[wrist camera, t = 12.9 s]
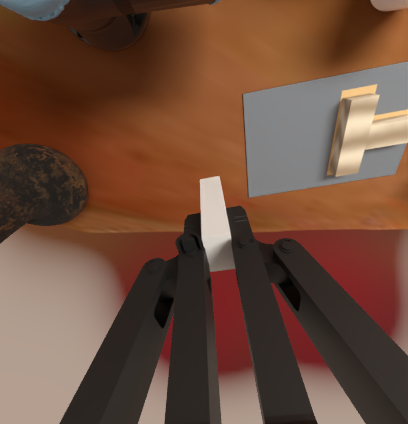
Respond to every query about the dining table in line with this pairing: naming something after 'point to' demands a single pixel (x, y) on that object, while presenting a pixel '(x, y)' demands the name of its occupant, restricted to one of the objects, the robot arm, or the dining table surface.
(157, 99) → the dining table surface
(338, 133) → the t block
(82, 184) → the dark mottled flask
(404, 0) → the candle holder
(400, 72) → the push mat
